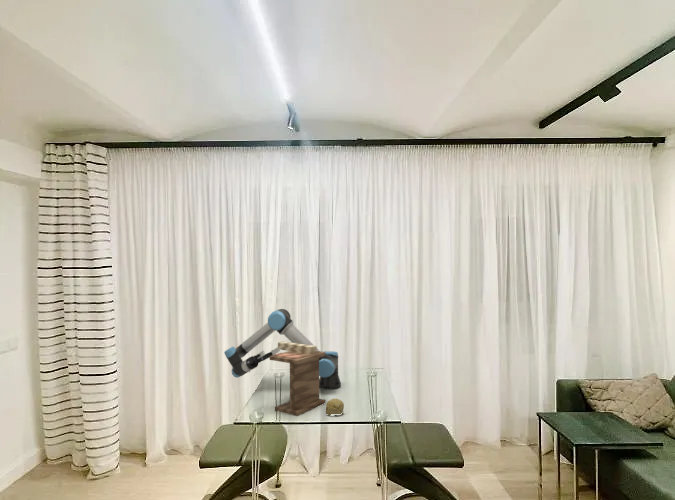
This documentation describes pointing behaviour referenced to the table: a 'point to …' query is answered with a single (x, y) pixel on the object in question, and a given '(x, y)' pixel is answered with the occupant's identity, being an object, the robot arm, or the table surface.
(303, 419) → the table surface
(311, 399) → the stand
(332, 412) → the rock
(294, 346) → the bar
